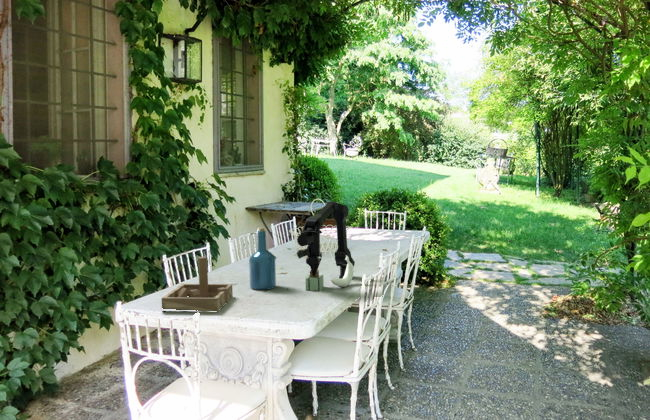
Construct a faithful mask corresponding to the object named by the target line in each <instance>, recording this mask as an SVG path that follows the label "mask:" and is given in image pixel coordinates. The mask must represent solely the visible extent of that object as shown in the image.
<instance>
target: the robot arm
mask: <svg viewBox="0 0 650 420" xmlns="http://www.w3.org/2000/svg"><path fill="white" fill-rule="evenodd" d="M349 210H350V209H349V206H348V205H346V204H342V203H339V202H338V201H337V202H336V201H327V202H326V204H325V205H324V206H323V207H322V208H321V209H320V210H319V211H318V212H317V213H316V214H314V215H313V214H312V215H311V216H309V217H308V218H306V220H305V223H304V225H303V228H302V230H301V232H300V234H298V235H297V237H296V242H297V244H298V246H300V247H306V246H307V247H306V248H303V249H300V250H299V249H298V251H296V256H297V258H298V259H302V258H304V257H307V258H306V259H305V264H307V265H308V266H309V267H310V270H311V271H312V275H313V276H315V274H316V272H317V270H319V266H320V265H321V262H322V260H323V259H322V258H323V253H322V252H321V239H320V238H321V234H322V233H323V231H322V230H321V229H322V228H323V226H324V222H325V220H327V218H328V217H329V216H330V215H331V214H332V217H333V219H334V221H335V223H336V237H337V238H336V239H337V249H336V251H335V252H334V260H335V265H336V267H339V274H340V275H339V277H338V278H340V279H342V278H343V277H344V274H345V271H346V267H347V261H346V260H345V258H346V255H347V256H348V257H349V261H350V262H351V263H352V265H353V267H355V260H354V258H353V257H352V253H351V250H350V249H349V248H348V237H347V236H348V235H347V223H346V222H347V219H348V218H349Z"/></svg>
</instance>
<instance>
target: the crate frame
mask: <svg viewBox="0 0 650 420" xmlns="http://www.w3.org/2000/svg"><path fill="white" fill-rule="evenodd" d="M222 287H224V288H227V289H228V300H229V301H231V299H232V298H233V293H234V292H233V284H232V283H208V294H209V298H190V297H187V298H184V297H176V296H177V294H178V293H179V292H180V290H181V289H182V288H185V289H187V296H190V290H195V289H197V290H199V283H181V284H180V285H179V286H177V287H176V288H174V289H173V290H171V291H170V292H168V293H167V294H165V295H164V296H162V297H161V309H162V308H163V309H176V310H196V311H197V310H198V311H218V310H219V309H220V308H221V307H222V306H223V305H224V304H225V303H226V291H221V292H220V293H219V294H218V295H217V289H218V288H222ZM199 292H200V290H199ZM225 305H226V304H225ZM225 305H224V306H225ZM224 306H223V307H224ZM223 307H222V308H223ZM222 308H221V309H222ZM221 309H220V310H221ZM220 310H219V311H220ZM219 311H218V312H219Z"/></svg>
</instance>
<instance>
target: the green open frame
mask: <svg viewBox="0 0 650 420" xmlns="http://www.w3.org/2000/svg"><path fill="white" fill-rule="evenodd" d="M323 289H324V274H320V275H319V289H318V278H310V274H307V275H306V277H305V291H320V292H321V291H323Z"/></svg>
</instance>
